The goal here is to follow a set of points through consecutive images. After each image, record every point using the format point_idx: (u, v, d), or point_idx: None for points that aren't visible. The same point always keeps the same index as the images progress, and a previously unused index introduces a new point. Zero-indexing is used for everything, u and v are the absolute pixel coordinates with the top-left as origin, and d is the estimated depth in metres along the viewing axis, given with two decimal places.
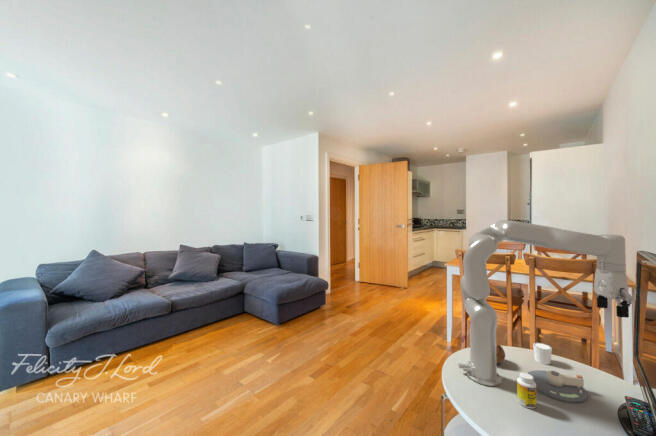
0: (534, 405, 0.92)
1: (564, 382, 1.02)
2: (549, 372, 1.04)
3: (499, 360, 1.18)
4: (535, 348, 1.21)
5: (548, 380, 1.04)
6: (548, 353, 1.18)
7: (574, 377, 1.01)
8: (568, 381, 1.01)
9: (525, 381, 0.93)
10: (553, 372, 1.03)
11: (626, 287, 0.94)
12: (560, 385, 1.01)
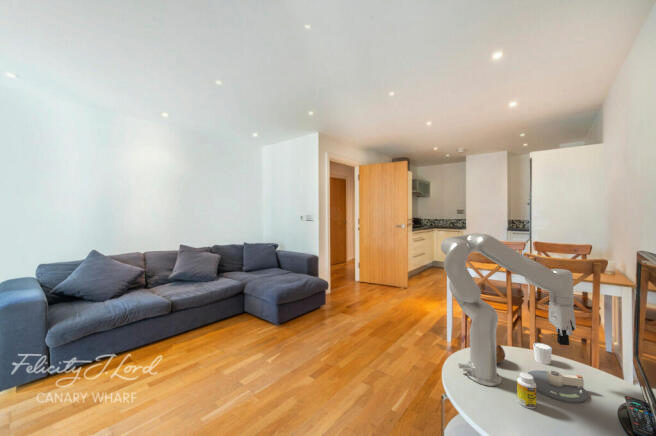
0: (534, 405, 0.92)
1: (564, 382, 1.02)
2: (549, 372, 1.04)
3: (499, 360, 1.18)
4: (535, 348, 1.21)
5: (548, 380, 1.04)
6: (548, 353, 1.18)
7: (574, 377, 1.01)
8: (568, 381, 1.01)
9: (525, 381, 0.93)
10: (553, 372, 1.03)
11: (573, 320, 1.02)
12: (560, 385, 1.01)
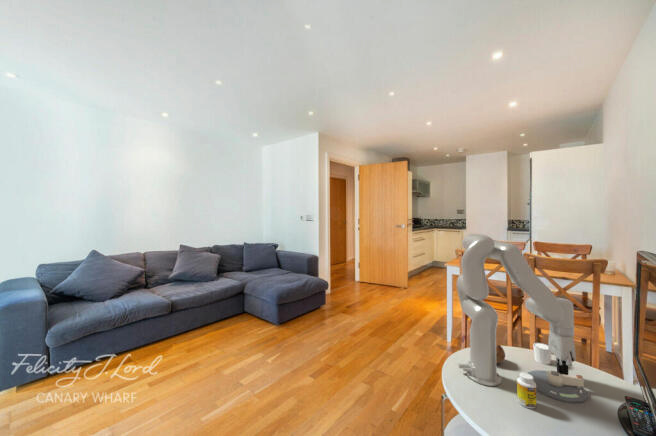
0: (534, 405, 0.92)
1: (564, 382, 1.02)
2: (549, 372, 1.04)
3: (499, 360, 1.18)
4: (535, 348, 1.21)
5: (548, 380, 1.04)
6: (548, 353, 1.18)
7: (574, 377, 1.01)
8: (568, 381, 1.01)
9: (525, 381, 0.93)
10: (553, 372, 1.03)
11: (573, 351, 1.03)
12: (560, 385, 1.01)
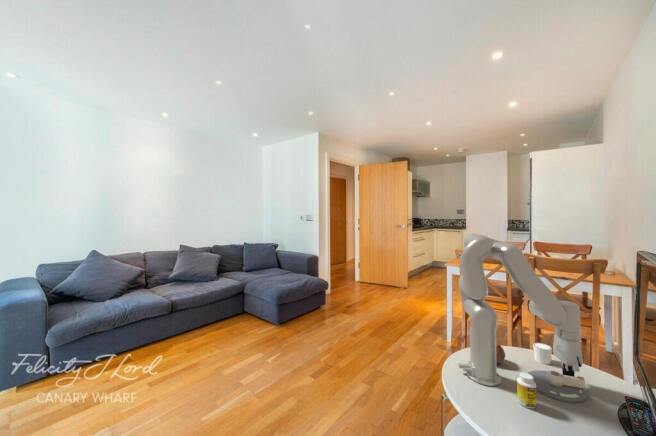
0: (534, 405, 0.92)
1: (564, 382, 1.01)
2: (549, 372, 1.04)
3: (499, 360, 1.18)
4: (535, 348, 1.21)
5: (548, 380, 1.04)
6: (548, 353, 1.18)
7: (575, 378, 1.01)
8: (569, 382, 1.01)
9: (525, 381, 0.93)
10: (553, 372, 1.03)
11: (580, 356, 0.99)
12: (559, 385, 1.01)
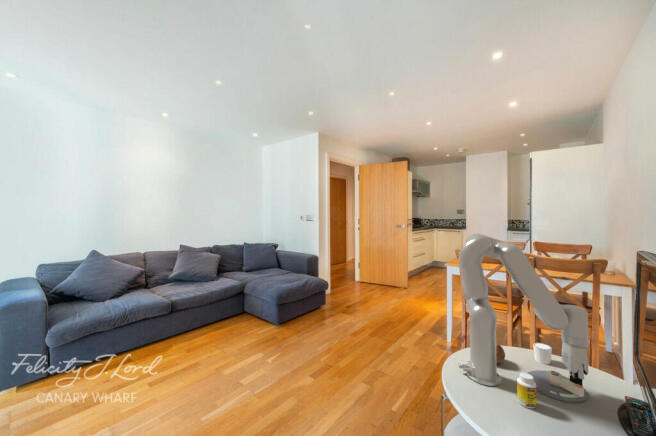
0: (534, 405, 0.92)
1: (561, 384, 1.00)
2: None
3: (499, 360, 1.18)
4: (535, 348, 1.21)
5: None
6: (548, 353, 1.18)
7: (573, 384, 0.97)
8: (565, 385, 0.99)
9: (525, 381, 0.93)
10: (553, 372, 1.04)
11: (585, 363, 0.94)
12: (552, 383, 1.02)
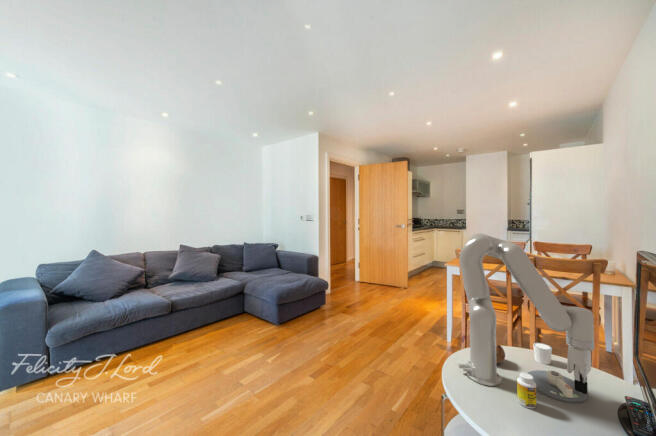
0: (534, 405, 0.92)
1: (556, 384, 1.01)
2: (554, 372, 1.05)
3: (499, 360, 1.18)
4: (535, 348, 1.21)
5: None
6: (548, 353, 1.18)
7: (563, 384, 0.97)
8: (558, 385, 1.00)
9: (525, 381, 0.93)
10: (554, 372, 1.04)
11: (581, 365, 0.93)
12: (549, 381, 1.03)
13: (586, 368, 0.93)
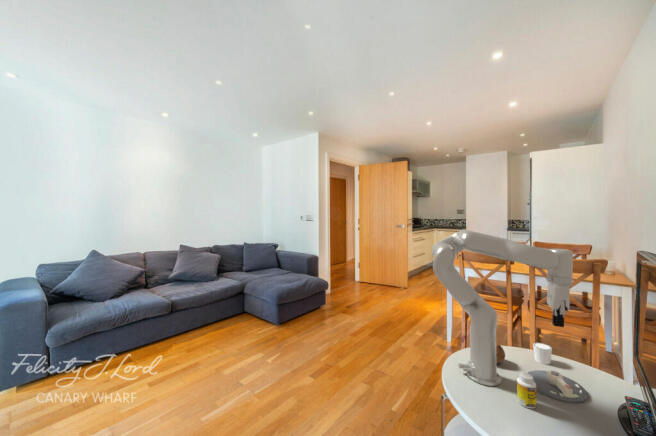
0: (534, 405, 0.92)
1: (556, 384, 1.01)
2: (554, 372, 1.05)
3: (499, 360, 1.18)
4: (535, 348, 1.21)
5: None
6: (548, 353, 1.18)
7: (563, 384, 0.97)
8: (558, 385, 1.00)
9: (525, 381, 0.93)
10: (554, 372, 1.04)
11: (567, 300, 0.99)
12: (549, 381, 1.03)
13: None
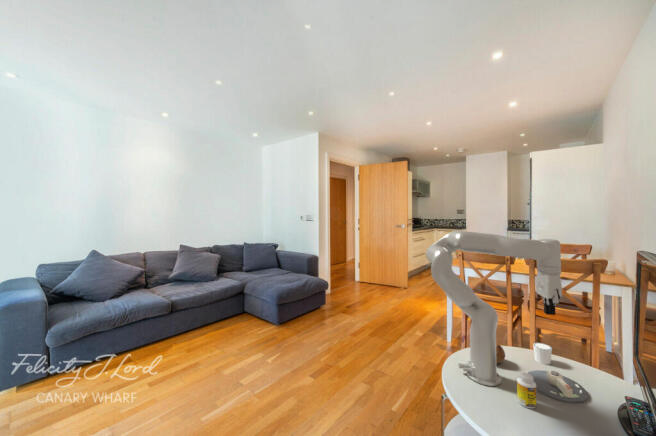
0: (534, 405, 0.92)
1: (556, 384, 1.01)
2: (554, 372, 1.05)
3: (499, 360, 1.18)
4: (535, 348, 1.21)
5: None
6: (548, 353, 1.18)
7: (563, 384, 0.97)
8: (558, 385, 1.00)
9: (525, 381, 0.93)
10: (554, 372, 1.04)
11: (559, 288, 1.03)
12: (549, 381, 1.03)
13: None
